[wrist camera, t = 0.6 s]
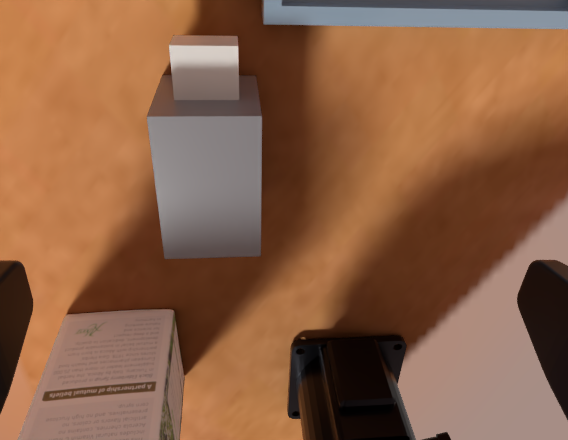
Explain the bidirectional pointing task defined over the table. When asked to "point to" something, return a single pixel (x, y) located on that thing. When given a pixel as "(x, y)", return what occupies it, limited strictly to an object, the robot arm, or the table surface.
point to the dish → (419, 13)
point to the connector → (207, 151)
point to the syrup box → (110, 379)
